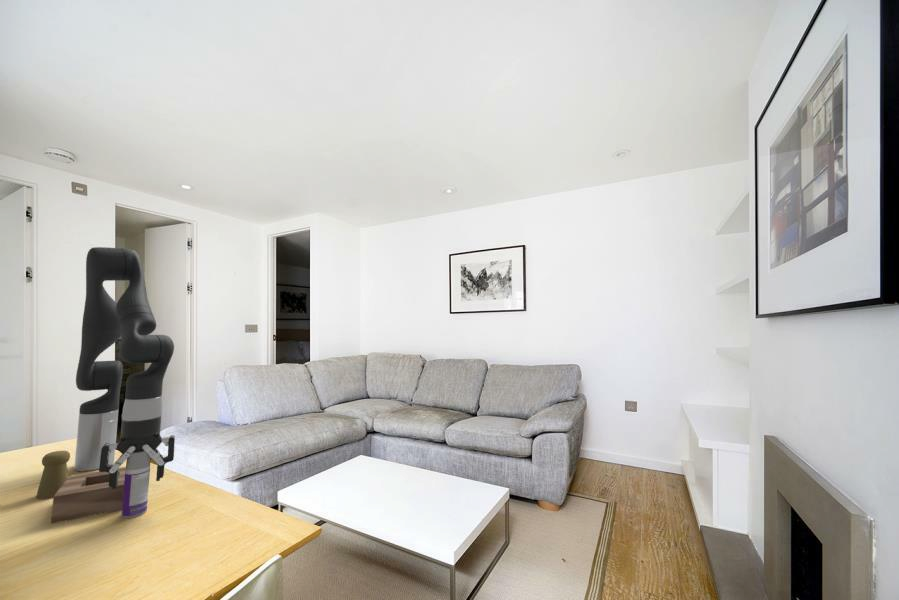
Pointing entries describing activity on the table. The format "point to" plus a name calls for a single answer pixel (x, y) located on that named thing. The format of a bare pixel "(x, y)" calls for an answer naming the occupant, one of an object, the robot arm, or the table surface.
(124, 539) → the table surface
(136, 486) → the container
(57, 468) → the cork
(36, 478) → the table surface
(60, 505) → the well block
